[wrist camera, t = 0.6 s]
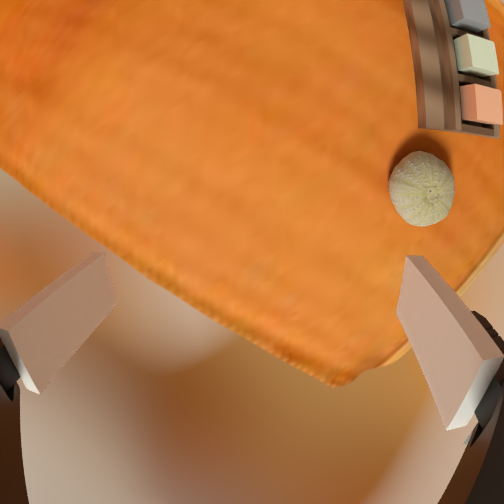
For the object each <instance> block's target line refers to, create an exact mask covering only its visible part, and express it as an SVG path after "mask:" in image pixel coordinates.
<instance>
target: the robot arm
mask: <svg viewBox="0 0 504 504" xmlns="http://www.w3.org/2000/svg"><path fill="white" fill-rule="evenodd" d="M116 305H117V302H116V298H115V294H114V290H113V286H112V281H111V277H110V273H109V268H108V264H107V259H106V254H105V253H91V254H90V255H88V256H87V257H86V258H84V259H83V260H81V261H80V262H78V263H77V264H76V265H74V266H73V267H72V268H70V269H69V270H67V271H66V272H65V273H63V274H62V275H61V276H59V277H58V278H57V279H55V280H54V281H53V282H51V283H50V284H49V285H47V286H46V287H45V288H44V289H42V290H41V291H40V292H38V293H37V294H36V295H35V296H33V297H32V298H31V299H30V300H28V301H27V302H26V303H25V304H23V305H22V306H21V307H20V308H18V309H17V310H16V311H15V312H13V313H12V314H11V315H10V316H9V317H8V318H6V319H5V320H4V321H3V322H2V323H1V324H0V504H29V502H28V496H27V490H26V484H25V476H24V468H23V459H22V448H21V433H20V388H19V385H18V384H17V382H16V381H17V380H18V379H19V378H20V377H21V379H22V381H23V382H24V384H25V386H26V388H27V389H28V390H31V391H33V392H35V393H38V394H41V393H42V392H43V390H44V389H45V388H46V387H47V385H48V384H49V383H50V382H51V381H52V379H53V378H54V377H55V376H56V375H57V373H58V372H59V371H60V370H61V369H62V367H63V366H64V365H65V364H66V363H67V361H68V360H69V359H70V358H71V357H72V355H73V354H74V353H75V352H76V351H77V349H78V348H79V347H80V346H81V345H82V344H83V343H84V341H85V340H86V339H87V338H88V337H89V336H90V335H91V333H92V332H93V331H94V330H95V329H96V328H97V327H98V325H99V324H100V323H101V322H102V321H103V320H104V319H105V318H106V317H107V315H108V314H109V313H110V312H111V311H112V310H113V308H115V307H116ZM396 314H397V316H398V318H399V320H400V323H401V325H402V327H403V329H404V331H405V333H406V335H407V337H408V339H409V342H410V344H411V346H412V348H413V350H414V352H415V355H416V357H417V359H418V362H419V364H420V366H421V368H422V371H423V373H424V376H425V378H426V380H427V383H428V385H429V387H430V390H431V393H432V395H433V397H434V400H435V403H436V405H437V408H438V411H439V413H440V416H441V418H442V421H443V424H444V427H445V430H450V429H454V428H459V427H463V426H466V425H467V424H468V422H469V421H470V419H471V417H472V416H473V414H474V413H475V414H476V417H477V419H478V421H479V422H478V423H477V425H476V426H475V428H474V429H473V431H472V432H471V434H470V435H469V436H468V438H467V439H466V441H465V442H464V444H467V443H468V444H467V447H466V449H465V452H464V453H463V456H462V458H461V460H460V462H459V464H458V466H457V468H456V471H455V473H454V475H453V477H452V478H451V480H450V482H449V484H448V486H447V488H446V490H445V492H444V494H443V495H442V497H441V499H440V501H439V502H438V504H504V341H503V340H502V338H501V337H500V336H498V333H497V332H496V331H495V330H494V329H493V327H492V326H491V324H490V323H489V322H488V321H487V319H486V318H484V317H483V316H482V315H480V314H479V313H477V312H476V311H470V310H469V309H468V307H467V306H466V305H465V304H464V303H463V301H462V300H461V299H460V298H459V296H458V295H457V294H456V293H455V292H454V290H453V289H452V288H451V287H450V286H449V285H448V283H447V282H446V281H445V280H444V279H443V278H442V277H441V276H440V274H439V273H438V272H437V271H436V270H435V269H434V268H433V267H432V265H431V264H430V263H429V262H428V261H427V260H426V259H425V258H424V257H423V256H407V255H406V261H405V267H404V273H403V279H402V285H401V290H400V296H399V301H398V306H397V311H396Z"/></svg>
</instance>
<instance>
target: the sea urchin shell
mask: <svg viewBox="0 0 504 504" xmlns="http://www.w3.org/2000/svg"><path fill="white" fill-rule="evenodd" d="M388 188H389V192H390V197H391V201H392V203H393V204H394V206H395V209H396V210H397V213H399V215H400V216H401V217H402V218H403V219H404V220H405V221H406V222H408V223H409V224H411V225H415V226H422V227H424V226H428V225H432V224H436V223H437V222H439V221H441V220H443V219H444V218H445V217H446V216H447V215H448V214H449V210H450V208H451V206H452V204H453V197H454V193H455V188H454V177H453V174H452V172H451V170H450V169H449V168H448V166H447V165H446V164H445V163H444V161H442V160H440V159H439V158H437V157H436V156H434V155H433V154H431V153H427V152H424V151H421V150H420V151H414V152H412V153H410V154H409V155H407V156H406V157H403V159H402V160H401V161H400V162H399V164H398V165H396V166H395V168H394V170H393V172H392V174H391V176H390V178H389V185H388Z"/></svg>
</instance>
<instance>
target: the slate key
mask: <svg viewBox="0 0 504 504" xmlns="http://www.w3.org/2000/svg"><path fill="white" fill-rule="evenodd" d="M445 3H446V7H447V11H448V15H449V20H450V24H451V26H454V27H458V28H462V29H465V30H468V31H472V32H475V33H478V32H480V31H482V30H485V29H487V28H490V27H491V26H490V21H489V17H488V13H487V9H486V6H485V2H484V0H445Z"/></svg>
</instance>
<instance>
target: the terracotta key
mask: <svg viewBox="0 0 504 504" xmlns="http://www.w3.org/2000/svg"><path fill="white" fill-rule="evenodd" d="M460 96H461V111H462V119H463V120H468V121H474V122H479V123H485V124H497V125H503V111H502V97H501V90H497V89H494V88H490V87H486V86H482V85H478V84H470V85H465V86H460Z"/></svg>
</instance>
